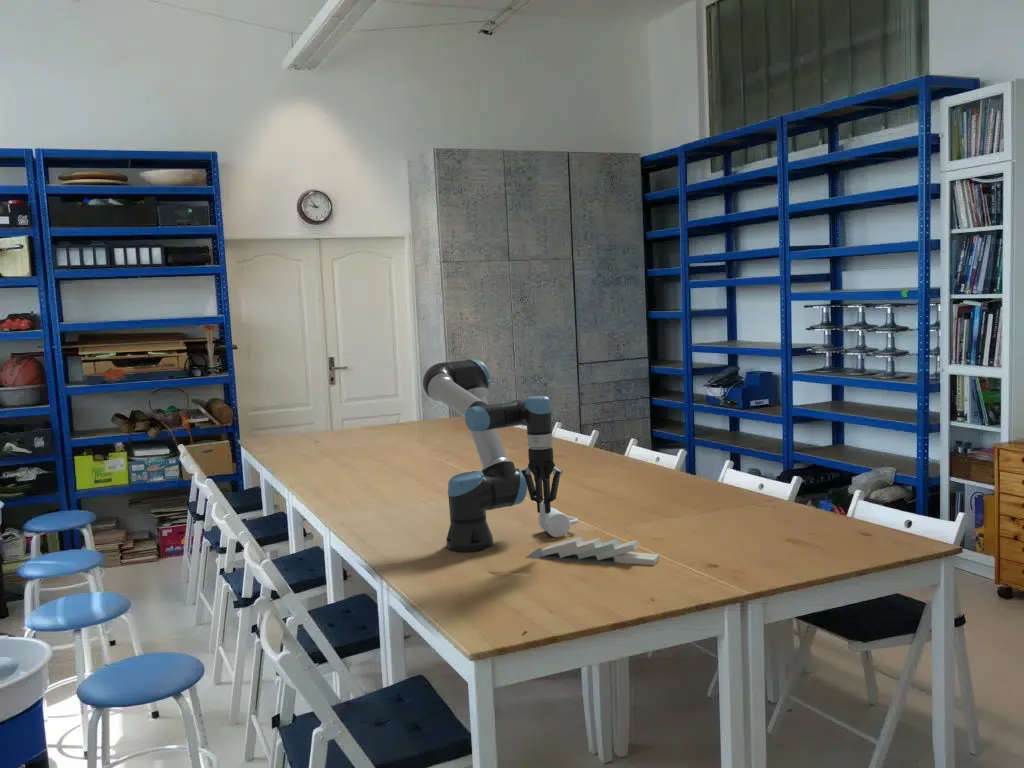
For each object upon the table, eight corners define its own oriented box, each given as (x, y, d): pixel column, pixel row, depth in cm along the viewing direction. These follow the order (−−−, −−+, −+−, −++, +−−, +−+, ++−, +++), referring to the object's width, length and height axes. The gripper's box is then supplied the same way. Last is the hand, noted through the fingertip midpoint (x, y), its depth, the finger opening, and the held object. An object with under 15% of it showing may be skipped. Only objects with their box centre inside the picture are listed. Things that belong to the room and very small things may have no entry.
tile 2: (558, 552, 275) (593, 542, 269) (565, 547, 280) (599, 537, 274) (560, 557, 275) (595, 548, 269) (567, 552, 280) (601, 543, 274)
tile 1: (540, 550, 277) (575, 541, 272) (547, 545, 282) (581, 536, 277) (542, 556, 277) (577, 547, 272) (549, 551, 282) (583, 542, 277)
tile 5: (614, 555, 267) (654, 560, 262) (620, 550, 272) (659, 554, 267) (614, 561, 267) (654, 566, 262) (620, 556, 272) (659, 560, 267)
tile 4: (595, 554, 270) (632, 544, 264) (601, 549, 274) (637, 539, 269) (597, 560, 269) (634, 550, 264) (603, 555, 274) (639, 545, 269)
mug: (547, 539, 297) (546, 515, 297) (538, 532, 307) (537, 508, 306) (582, 534, 301) (581, 510, 300) (572, 527, 310) (571, 504, 309)
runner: (525, 558, 277) (524, 557, 277) (538, 549, 286) (538, 548, 286) (615, 565, 265) (615, 564, 265) (626, 555, 274) (626, 554, 274)
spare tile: (576, 553, 272) (612, 543, 267) (583, 548, 277) (618, 538, 272) (578, 559, 272) (614, 549, 267) (585, 554, 277) (620, 544, 272)
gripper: (515, 449, 276) (520, 525, 278) (555, 449, 270) (559, 527, 272) (526, 444, 282) (530, 519, 285) (565, 445, 277) (569, 521, 279)
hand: (544, 523), depth 279 cm, fingers closed
